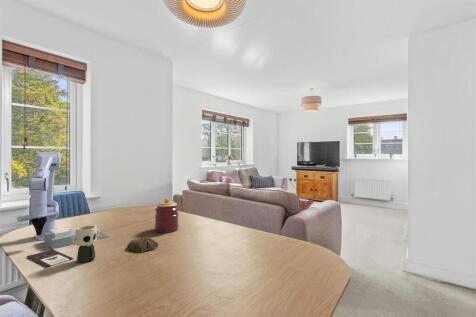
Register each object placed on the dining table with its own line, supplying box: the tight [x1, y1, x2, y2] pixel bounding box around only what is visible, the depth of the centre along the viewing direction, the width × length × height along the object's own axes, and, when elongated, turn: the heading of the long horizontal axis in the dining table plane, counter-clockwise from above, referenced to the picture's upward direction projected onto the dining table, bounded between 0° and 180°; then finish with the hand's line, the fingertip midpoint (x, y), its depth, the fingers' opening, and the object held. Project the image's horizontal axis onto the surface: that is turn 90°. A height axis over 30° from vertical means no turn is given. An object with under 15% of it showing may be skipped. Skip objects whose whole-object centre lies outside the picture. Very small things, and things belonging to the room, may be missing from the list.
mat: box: [96, 231, 110, 241], centre depth 128 cm, size 16×12×1 cm
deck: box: [44, 228, 76, 250], centre depth 119 cm, size 14×11×4 cm
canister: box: [154, 197, 180, 233], centre depth 141 cm, size 13×13×18 cm
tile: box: [50, 227, 70, 238], centre depth 118 cm, size 9×6×2 cm, turn 50°
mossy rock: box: [126, 236, 159, 253], centre depth 113 cm, size 13×12×5 cm
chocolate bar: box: [26, 248, 74, 269], centre depth 101 cm, size 9×1×18 cm
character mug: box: [72, 224, 101, 263], centre depth 99 cm, size 11×7×13 cm, turn 153°
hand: (38, 234), depth 112 cm, fingers closed
